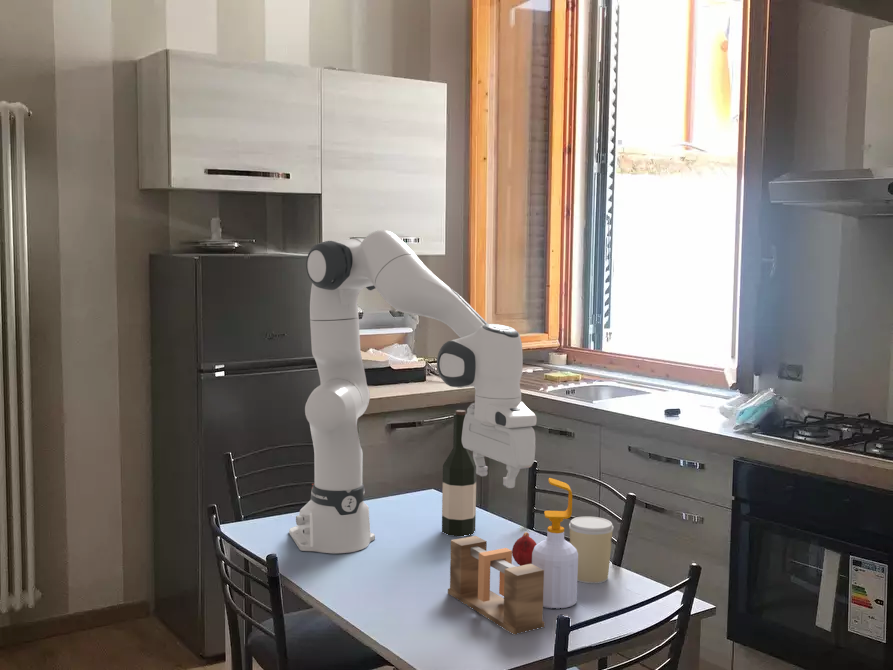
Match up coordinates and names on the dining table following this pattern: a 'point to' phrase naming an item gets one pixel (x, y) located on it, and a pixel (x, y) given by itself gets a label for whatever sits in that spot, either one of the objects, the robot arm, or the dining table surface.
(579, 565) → the coffee cup
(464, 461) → the wine bottle
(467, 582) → the wooden rail stand
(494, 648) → the dining table surface
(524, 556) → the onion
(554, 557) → the soap bottle
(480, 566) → the wooden arch
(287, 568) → the dining table surface
